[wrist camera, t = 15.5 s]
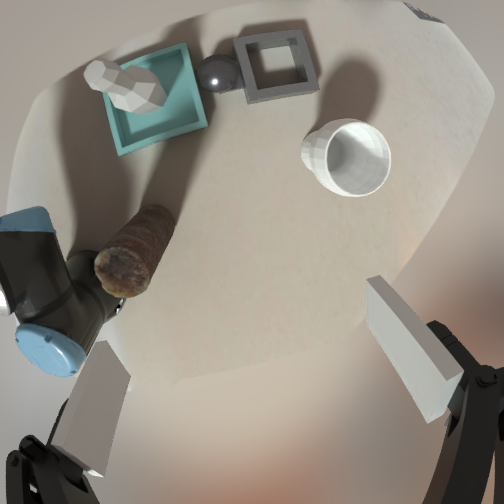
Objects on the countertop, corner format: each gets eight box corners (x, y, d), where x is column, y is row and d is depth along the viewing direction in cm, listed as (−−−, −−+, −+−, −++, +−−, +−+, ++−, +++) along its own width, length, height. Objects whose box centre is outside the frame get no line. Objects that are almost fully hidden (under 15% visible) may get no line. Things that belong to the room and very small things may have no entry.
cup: (289, 122, 42) (317, 115, 29) (348, 122, 43) (393, 120, 29) (293, 183, 47) (321, 203, 33) (350, 180, 47) (394, 199, 33)
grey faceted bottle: (180, 95, 38) (139, 60, 18) (153, 124, 40) (93, 116, 20) (153, 74, 36) (97, 31, 16) (127, 102, 38) (56, 83, 18)
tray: (125, 154, 42) (118, 156, 39) (107, 78, 36) (98, 75, 33) (208, 126, 42) (207, 125, 39) (188, 47, 36) (185, 41, 33)
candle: (176, 203, 46) (145, 247, 28) (177, 243, 49) (151, 305, 31) (135, 203, 46) (84, 245, 27) (137, 242, 48) (95, 301, 30)
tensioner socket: (208, 114, 41) (206, 111, 36) (193, 56, 37) (189, 46, 32) (311, 93, 41) (321, 88, 36) (295, 37, 36) (303, 26, 31)
